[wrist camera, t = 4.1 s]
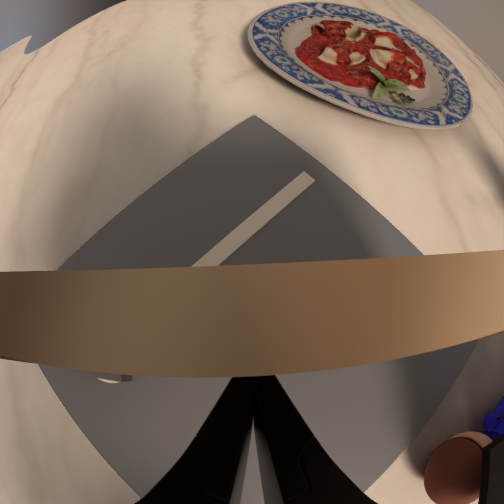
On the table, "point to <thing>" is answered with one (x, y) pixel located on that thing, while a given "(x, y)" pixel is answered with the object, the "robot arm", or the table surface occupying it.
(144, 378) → the card
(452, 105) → the ceramic plate
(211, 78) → the table surface
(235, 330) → the fence panel
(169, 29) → the table surface
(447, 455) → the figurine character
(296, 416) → the robot arm
